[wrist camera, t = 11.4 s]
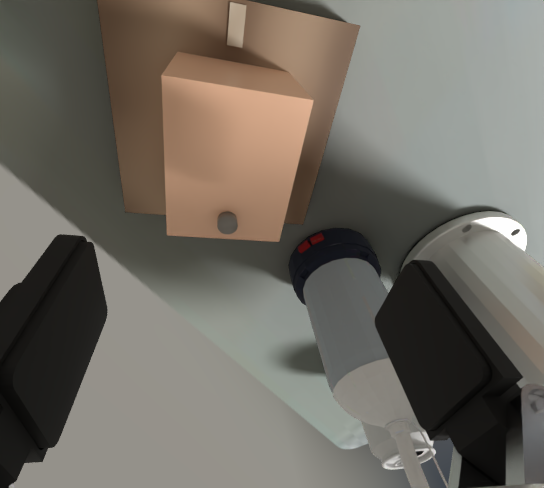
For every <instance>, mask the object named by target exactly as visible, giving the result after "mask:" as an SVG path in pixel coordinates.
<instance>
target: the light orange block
mask: <svg viewBox="0 0 544 488" xmlns="http://www.w3.org/2000/svg"><path fill="white" fill-rule="evenodd" d="M161 78H162V108H163V137H164V166H165V195H166V224H167V235H169V236H186V237H203V238H220V239H237V240H254V241H271V242H279V240H280V236H281V232H282V228H283V224H284V220H285V216H286V212H287V208H288V204H289V200H290V195H291V191H292V187H293V183H294V179H295V175H296V171H297V167H298V163H299V159H300V155H301V150H302V146H303V142H304V138H305V134H306V130H307V126H308V122H309V118H310V114H311V110H312V105H313V101H314V100H313V99H312V98H311V97H310V95H309V94H308V93H307V92H306V91H305V90H304V89H303V88H302V87H301V85H300V84H299V83H298V82H297V81H296V80H295V79H294V78H293V76H292V75H291V74H290V73H289V72H286V71H281V70H276V69H270V68H265V67H259V66H254V65H248V64H243V63H237V62H232V61H226V60H221V59H215V58H210V57H204V56H199V55H193V54H188V53H182V52H177V53H176V55H175V56H174V58H173V59H172V60H171V62H170V63H169V65H168V66H167V68H166V69H165V71H164V72H163V73H162V75H161Z"/></svg>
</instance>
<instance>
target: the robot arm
mask: <svg viewBox="0 0 544 488" xmlns="http://www.w3.org/2000/svg"><path fill="white" fill-rule="evenodd" d="M526 244H527V234H526V231H525V229H524V227H523V226H522V225H521V224H520V223H519V222H518V221H517V220H515V219H514V218H512V217H511V216H509V215H507V214H504V213H501V212H494V211H485V212H476V213H472V214H468V215H464V216H462V217H459V218H456V219H454V220H451V221H449V222H447V223H446V224H444V225H442V226H440V227H438V228H437V229H435V230H434V231H432V232H431V233H429V234H428V235H427V236H426V237H424V238H423V239H422V240H421V241H420V242H419V243H418V244H417V245H416V246H415V247H414V248H413V249H412V251H411V252H410V253H409V255H408V256H407V258H406V259H405V261H404V263H403V265H402V268H401V270H400V274H399V276H398V278H397V280H396V281H395V283H394V285H393V287H392V288H391V290H390V292H389V294H388V295H387V297H386V299H385V301H384V302H383V304H382V306H381V308H380V309H379V311H378V313H377V315H376V317H375V327H376V329H377V332H378V334H379V336H380V338H381V341H382V343H383V345H384V347H385V349H386V352H387V354H388V356H389V358H390V361H391V363H392V365H393V367H394V370H395V372H396V374H397V376H398V378H399V381H400V383H401V385H402V387H403V390H404V392H405V394H406V396H407V399H408V401H409V403H410V405H411V408H412V410H413V412H414V414H415V416H416V419H417V421H418V423H419V425H420V426H421V427H422V428H423V429H424V430H425V431H426V433H427V435H428V437H429V439H430V441H437V440H447V439H448V438H451V440H452V442H453V444H454V447H453V455H452V462H451V469H450V476H449V483H448V488H544V266H541V265H540V264H539V263H538V262H537V261H536V260H534V259H533V258H532V257H531V256H530V255H528V254H527V253H526V252H525V248H526ZM106 318H107V305H106V300H105V295H104V291H103V286H102V282H101V277H100V272H99V267H98V263H97V258H96V254H95V249H94V245H93V243H92V242H87V240H86V238H85V237H84V236H75V235H57V236H56V237H55V238H54V240H53V241H52V243H51V244H50V245H49V247H48V248H47V249H46V250H45V252H44V253H43V255H42V256H41V257H40V259H39V260H38V261H37V263H36V264H35V265H34V267H33V268H32V269H31V271H30V272H29V273H28V275H27V276H26V278H25V279H24V280H23V281H22V283H18V284H16V285H14V286H13V287H12V288H11V289H10V290H9V291H8V293H7V294H6V295H5V296H4V298H3V299H2V300H1V302H0V488H15V487H14V484H13V483H14V482H15V481H16V480H17V478H18V476H19V474H20V471H21V469H22V467H23V465H24V463H30V462H43V459H44V457H45V454H46V452H47V449H48V448H52V447H54V446H55V445H56V444H57V442H58V441H59V438H60V436H61V433H62V431H63V428H64V425H65V423H66V421H67V418H68V415H69V413H70V411H71V408H72V405H73V403H74V400H75V397H76V395H77V392H78V390H79V388H80V385H81V382H82V380H83V377H84V374H85V372H86V370H87V367H88V365H89V362H90V360H91V357H92V354H93V352H94V349H95V347H96V344H97V342H98V339H99V337H100V334H101V331H102V329H103V326H104V324H105V321H106Z"/></svg>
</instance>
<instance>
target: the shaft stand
mask: <svg viewBox="0 0 544 488" xmlns="http://www.w3.org/2000/svg"><path fill="white" fill-rule="evenodd" d="M97 3H98V11H99V18H100V26H101V33H102V41H103V48H104V56H105V63H106V71H107V79H108V86H109V94H110V101H111V109H112V116H113V124H114V131H115V139H116V146H117V154H118V161H119V169H120V176H121V184H122V191H123V199H124V206H125V212H129V213H144V214H158V215H166V195H165V166H164V137H163V108H162V78H161V75H162V73H163V72H164V71H165V69H166V68H167V66H168V65H169V63H170V62H171V60H172V59H173V58H174V56H175V55H176V53H177V52H182V53H188V54H193V55H199V56H204V57H210V58H215V59H221V60H226V61H232V62H237V63H243V64H248V65H254V66H259V67H265V68H270V69H276V70H281V71H286V72H289V73H290V74H291V75H292V76H293V78H294V79H295V80H296V81H297V82H298V83H299V84H300V85H301V87H302V88H303V89H304V90H305V91H306V92H307V93H308V94H309V95H310V97H311V98H312V99H313V100H314V101H313V105H312V110H311V114H310V118H309V122H308V126H307V130H306V134H305V138H304V142H303V146H302V150H301V155H300V159H299V163H298V167H297V171H296V175H295V179H294V183H293V187H292V191H291V195H290V200H289V204H288V208H287V212H286V216H285V220H284V223H287V224H302V225H303V223H304V220H305V216H306V213H307V209H308V206H309V202H310V199H311V195H312V192H313V188H314V185H315V181H316V178H317V175H318V171H319V168H320V164H321V161H322V157H323V154H324V150H325V147H326V143H327V140H328V136H329V133H330V129H331V126H332V122H333V119H334V115H335V112H336V108H337V105H338V102H339V98H340V95H341V91H342V88H343V84H344V81H345V77H346V74H347V70H348V67H349V63H350V60H351V56H352V53H353V49H354V46H355V42H356V39H357V35H358V32H359V29H360V26H359V25H355V24H351V23H346V22H342V21H337V20H333V19H328V18H324V17H319V16H315V15H311V14H306V13H302V12H297V11H293V10H288V9H284V8H279V7H275V6H270V5H266V4H261V3H257V2H252V1H248V0H97Z"/></svg>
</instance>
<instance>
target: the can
mask: <svg viewBox="0 0 544 488" xmlns="http://www.w3.org/2000/svg"><path fill="white" fill-rule="evenodd" d="M412 420H413V421H414V422H415V423H416V424H417V425H418V427H419V428H420V429H421V431H422V433H423V435H424V436H425V438H426V440H427V442H428V444H429V446H430V449H431V451H432V453H433V455H435V454H436V451H435V449H433V448H432V445H433V441H430V439H429V437H428V435H427V433H426V431H425V430H424V429H423V428H422V427H421V426H420V425H419V423H418V421H417V419H416V416H415V414H414V416H413V417H412ZM361 422H362V421H361ZM362 425H363V428H364V431H365V434H366V437H367V440H368V443H369V446H370V449H371V452H372V454H373V455H374V456H376V457H378V459H380V460H381V461H382V466H383V467H384V468H385V469H402V468H404V466H403V463H402V460H401V457H400V454H399V450H398V447H397V443H396V440H395V439H394V438H392V437H391V434H390V432H389V431H387V430H386V429H385V428H383V427H380V426H375V425H370V424H367V423H365V422H362ZM409 427H410V429H411V433H410V436H411V438H412V441H413V445H414V448H415V451H416V454H417V457H418V459H419V462H420V463H423V462H425V461H427V460H429V459H431V458H432V455H431V453H430V451H429V449H428V447H427V445H426V443H425V440H424V439H423V437H422V435H421V433H420V431H419V430H418V428H417V427H416V426H415V425H414V424H413V423H412V422H411V423H410V424H409Z"/></svg>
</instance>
